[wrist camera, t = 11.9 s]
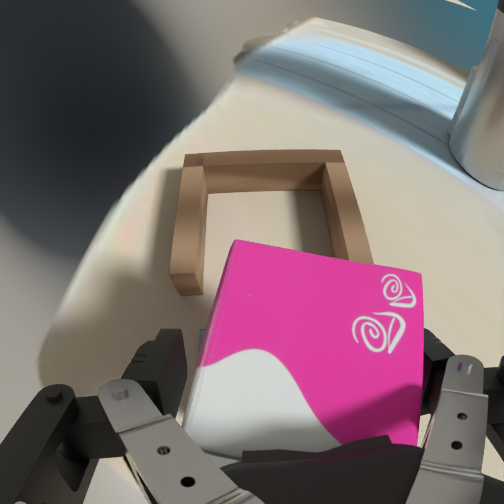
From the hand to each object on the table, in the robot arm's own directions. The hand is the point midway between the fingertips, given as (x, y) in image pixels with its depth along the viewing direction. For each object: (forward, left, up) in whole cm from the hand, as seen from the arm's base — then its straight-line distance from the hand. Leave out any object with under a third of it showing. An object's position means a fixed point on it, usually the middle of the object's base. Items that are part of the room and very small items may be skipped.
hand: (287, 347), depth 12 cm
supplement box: (+1, 0, -7) cm, 7 cm away
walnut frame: (-11, 0, -7) cm, 13 cm away
